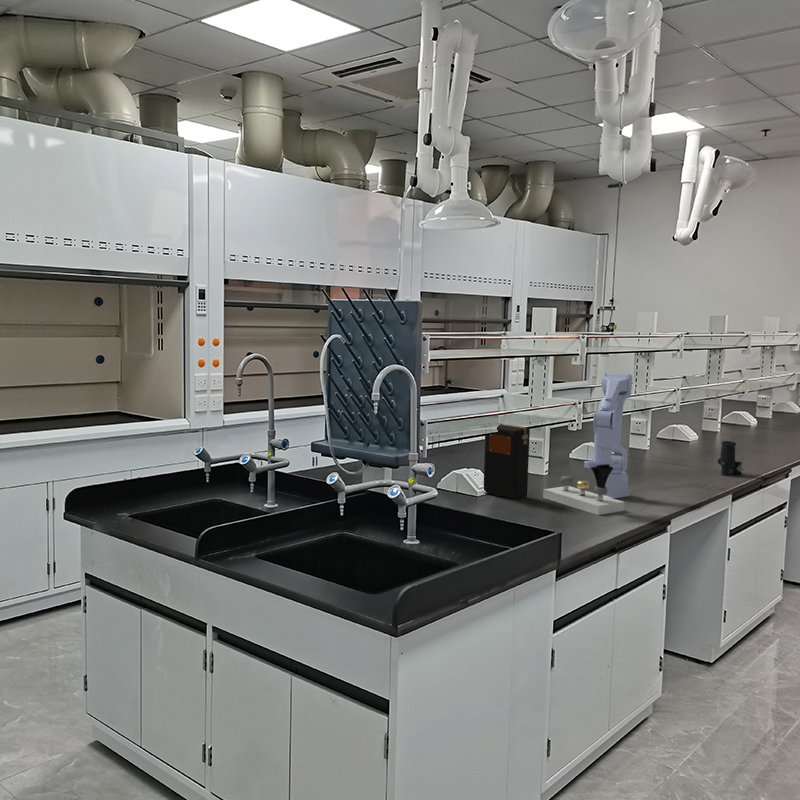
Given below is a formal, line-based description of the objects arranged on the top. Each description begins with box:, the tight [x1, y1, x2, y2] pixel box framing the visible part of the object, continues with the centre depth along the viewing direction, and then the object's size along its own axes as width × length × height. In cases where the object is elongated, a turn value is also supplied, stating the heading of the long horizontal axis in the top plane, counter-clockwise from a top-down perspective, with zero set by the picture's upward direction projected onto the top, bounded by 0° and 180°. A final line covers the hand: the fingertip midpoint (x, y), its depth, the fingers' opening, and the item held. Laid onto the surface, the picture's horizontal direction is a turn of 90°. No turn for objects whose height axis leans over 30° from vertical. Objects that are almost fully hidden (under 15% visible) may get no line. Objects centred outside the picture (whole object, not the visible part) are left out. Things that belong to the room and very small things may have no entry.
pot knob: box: [576, 480, 590, 496], centre depth 251 cm, size 4×4×5 cm
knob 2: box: [593, 485, 607, 502], centre depth 244 cm, size 4×4×5 cm
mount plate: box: [542, 485, 625, 516], centre depth 251 cm, size 12×26×3 cm, turn 31°
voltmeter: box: [483, 423, 531, 500], centre depth 261 cm, size 16×9×25 cm, turn 45°
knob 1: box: [560, 475, 573, 491], centre depth 258 cm, size 4×4×5 cm
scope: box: [717, 440, 745, 477], centre depth 306 cm, size 8×14×10 cm
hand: (600, 487), depth 244 cm, fingers closed, pressing on knob 2
